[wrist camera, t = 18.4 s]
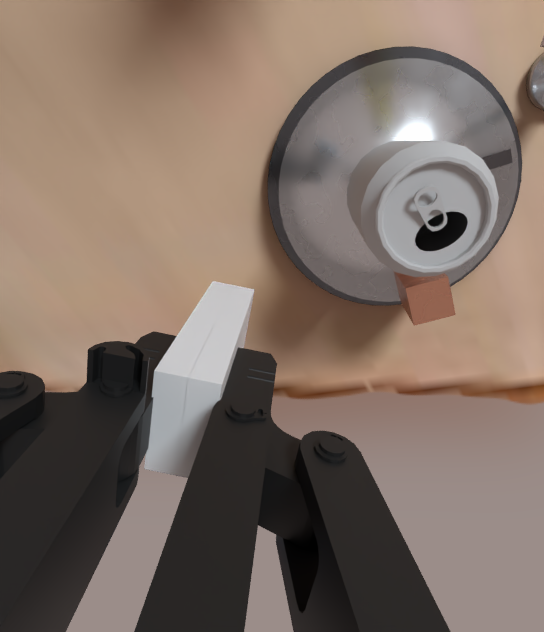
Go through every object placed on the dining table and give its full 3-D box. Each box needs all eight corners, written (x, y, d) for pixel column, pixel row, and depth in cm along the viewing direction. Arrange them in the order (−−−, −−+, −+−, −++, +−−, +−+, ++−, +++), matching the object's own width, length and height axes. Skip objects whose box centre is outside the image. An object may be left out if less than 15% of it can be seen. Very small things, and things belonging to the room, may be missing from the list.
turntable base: (250, 276, 41) (249, 280, 40) (295, 24, 34) (295, 20, 32) (464, 320, 41) (469, 325, 40) (557, 78, 34) (565, 76, 32)
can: (372, 257, 36) (401, 309, 25) (328, 174, 34) (338, 192, 23) (460, 209, 35) (533, 243, 24) (419, 119, 33) (478, 109, 21)
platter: (314, 318, 40) (315, 350, 34) (249, 110, 35) (237, 105, 28) (523, 262, 37) (565, 286, 31) (491, 22, 31) (536, -5, 25)
